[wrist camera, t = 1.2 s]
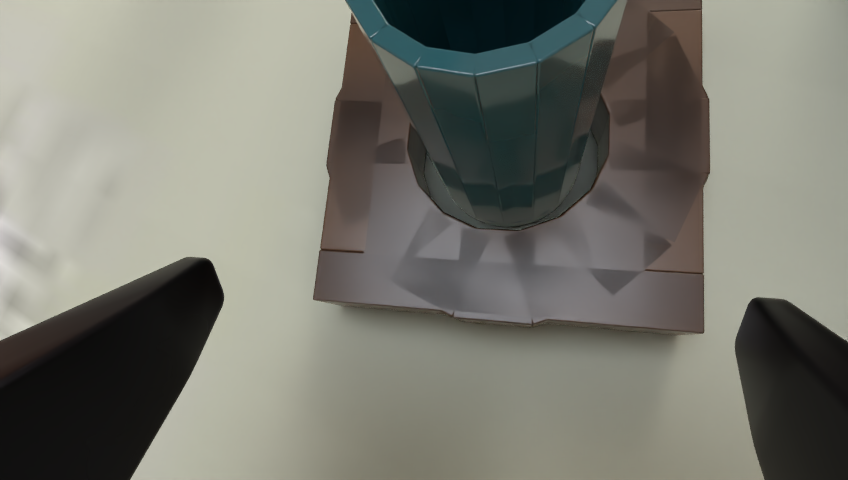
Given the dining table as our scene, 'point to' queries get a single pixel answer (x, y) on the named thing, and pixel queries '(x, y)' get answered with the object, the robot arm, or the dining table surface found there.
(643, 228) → the holder
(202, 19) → the dining table surface
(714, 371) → the dining table surface
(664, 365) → the dining table surface
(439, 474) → the dining table surface
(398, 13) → the tumbler
